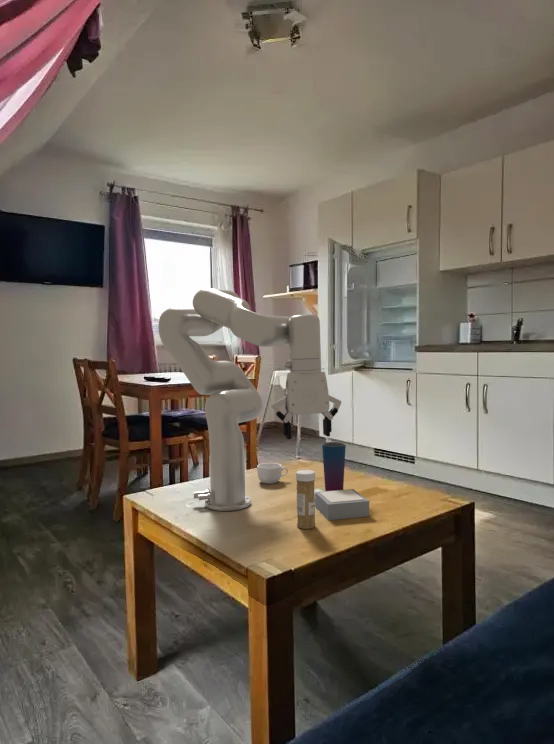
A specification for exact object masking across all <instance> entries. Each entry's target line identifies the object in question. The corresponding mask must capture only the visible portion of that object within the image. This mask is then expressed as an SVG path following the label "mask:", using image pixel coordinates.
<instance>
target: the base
mask: <svg viewBox="0 0 554 744" xmlns="http://www.w3.org/2000/svg"><path fill="white" fill-rule="evenodd" d="M314 494H315V509H317V510H318V512H320V514H322V515H323V517H325V519H326V520H328V521H334V520H335V521H336V520H344V519H354V518H355V519H356V518H357V519H358V518H364V517H370V500H369V499H367V498H366V497H364V496H363V495H362V494H361V493H359V492H358V491H356V490H355V488H351V489H350V488H348V489H343V490H335V491H325V490H324V491H314Z"/></svg>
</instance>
